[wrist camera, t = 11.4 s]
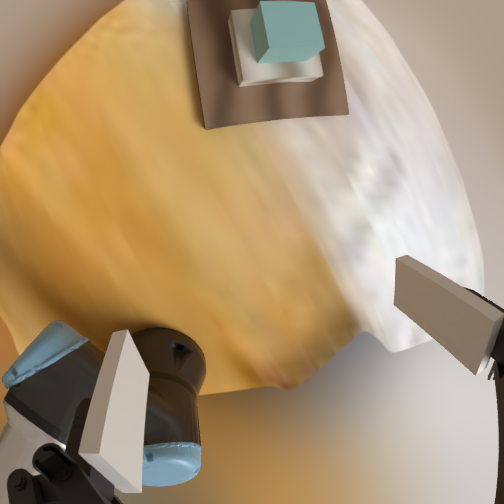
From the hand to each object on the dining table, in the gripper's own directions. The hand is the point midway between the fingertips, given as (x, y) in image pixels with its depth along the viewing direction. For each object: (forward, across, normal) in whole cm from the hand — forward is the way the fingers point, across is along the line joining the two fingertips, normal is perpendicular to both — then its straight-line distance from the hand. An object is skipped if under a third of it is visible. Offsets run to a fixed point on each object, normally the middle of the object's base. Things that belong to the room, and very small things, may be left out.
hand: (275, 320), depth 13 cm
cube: (+23, -10, -20) cm, 32 cm away
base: (+28, -11, -20) cm, 36 cm away
